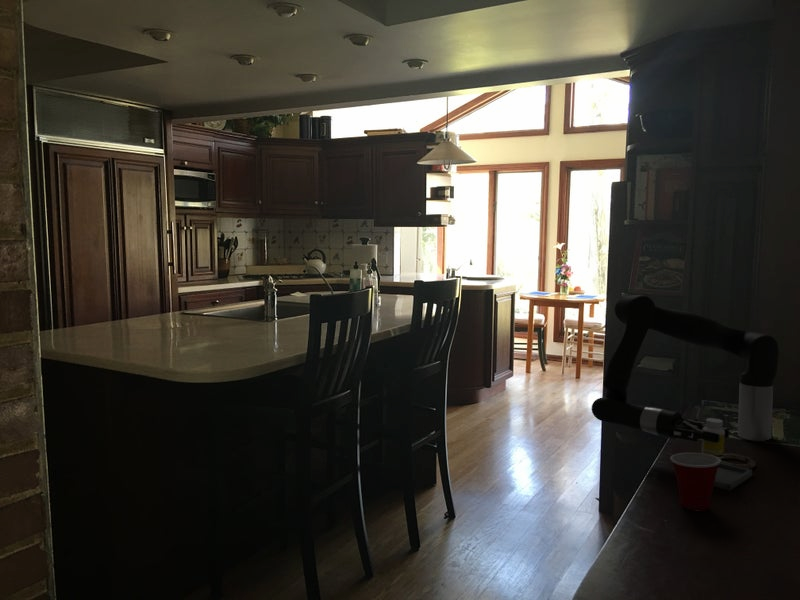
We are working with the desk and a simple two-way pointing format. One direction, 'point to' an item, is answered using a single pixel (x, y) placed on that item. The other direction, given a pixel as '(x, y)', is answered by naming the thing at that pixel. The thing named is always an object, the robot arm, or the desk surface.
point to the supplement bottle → (714, 447)
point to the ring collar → (739, 457)
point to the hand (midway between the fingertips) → (723, 436)
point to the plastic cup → (695, 478)
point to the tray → (730, 476)
